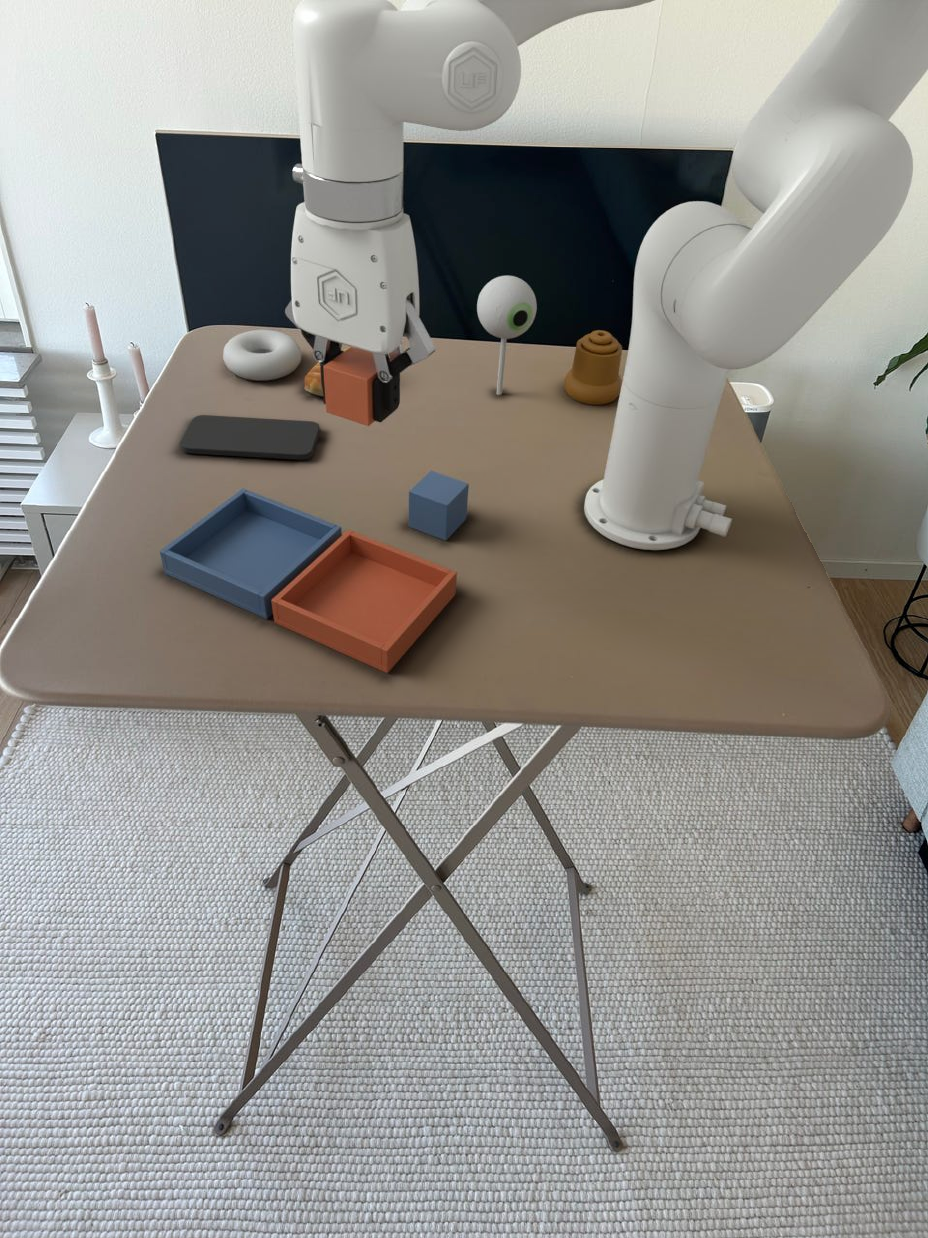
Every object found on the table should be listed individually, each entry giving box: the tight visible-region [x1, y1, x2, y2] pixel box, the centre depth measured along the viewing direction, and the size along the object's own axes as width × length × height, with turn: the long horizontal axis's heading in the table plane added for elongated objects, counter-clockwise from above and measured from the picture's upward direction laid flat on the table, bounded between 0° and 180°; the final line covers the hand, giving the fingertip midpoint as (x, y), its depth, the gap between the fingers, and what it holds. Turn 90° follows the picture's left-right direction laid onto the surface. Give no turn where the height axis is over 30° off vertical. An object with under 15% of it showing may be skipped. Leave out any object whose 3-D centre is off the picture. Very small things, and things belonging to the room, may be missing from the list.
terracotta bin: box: [271, 529, 458, 674], centre depth 81 cm, size 12×12×3 cm
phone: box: [179, 414, 321, 460], centre depth 102 cm, size 7×1×15 cm
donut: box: [222, 329, 302, 381], centre depth 114 cm, size 10×4×10 cm
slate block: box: [408, 470, 470, 542], centre depth 91 cm, size 4×4×4 cm
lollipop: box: [476, 275, 538, 396], centre depth 108 cm, size 7×7×15 cm
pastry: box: [304, 345, 351, 397], centre depth 111 cm, size 9×7×4 cm
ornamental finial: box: [563, 329, 623, 406], centre depth 112 cm, size 8×8×8 cm
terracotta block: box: [323, 347, 391, 427], centre depth 78 cm, size 4×4×4 cm
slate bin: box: [159, 487, 343, 620], centre depth 86 cm, size 12×12×3 cm
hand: (360, 404), depth 79 cm, fingers closed on terracotta block, 4 cm apart
